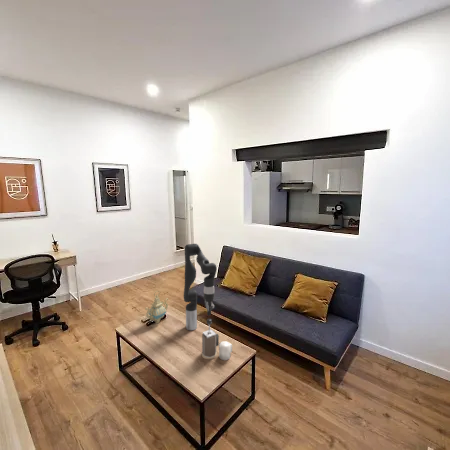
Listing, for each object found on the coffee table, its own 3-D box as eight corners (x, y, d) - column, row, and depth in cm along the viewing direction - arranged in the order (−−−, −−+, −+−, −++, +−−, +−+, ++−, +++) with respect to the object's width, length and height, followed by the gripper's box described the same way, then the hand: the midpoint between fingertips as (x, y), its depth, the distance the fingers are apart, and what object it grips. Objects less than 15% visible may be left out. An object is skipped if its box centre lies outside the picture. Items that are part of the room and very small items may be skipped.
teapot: (150, 331, 207) (149, 297, 203) (142, 327, 214) (140, 293, 209) (172, 319, 226) (171, 288, 222) (164, 315, 233) (163, 285, 228)
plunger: (205, 342, 179) (205, 319, 177) (210, 340, 181) (210, 318, 179) (208, 344, 176) (208, 321, 174) (212, 343, 178) (212, 320, 176)
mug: (216, 355, 179) (217, 343, 178) (228, 350, 184) (228, 339, 183) (223, 361, 172) (223, 349, 171) (234, 356, 178) (235, 344, 176)
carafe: (199, 352, 182) (198, 331, 179) (214, 346, 189) (214, 326, 186) (206, 361, 173) (206, 339, 170) (221, 354, 179) (222, 333, 177)
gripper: (199, 289, 177) (200, 312, 179) (209, 296, 166) (209, 320, 168) (209, 287, 181) (209, 309, 183) (218, 293, 170) (218, 317, 172)
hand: (209, 314), depth 176 cm, fingers closed
